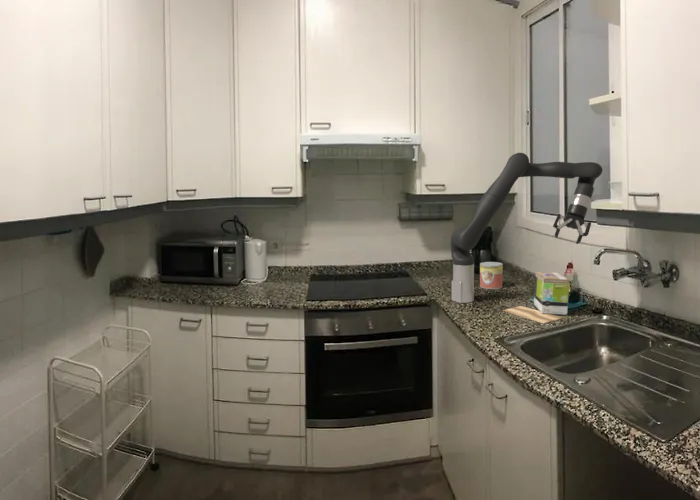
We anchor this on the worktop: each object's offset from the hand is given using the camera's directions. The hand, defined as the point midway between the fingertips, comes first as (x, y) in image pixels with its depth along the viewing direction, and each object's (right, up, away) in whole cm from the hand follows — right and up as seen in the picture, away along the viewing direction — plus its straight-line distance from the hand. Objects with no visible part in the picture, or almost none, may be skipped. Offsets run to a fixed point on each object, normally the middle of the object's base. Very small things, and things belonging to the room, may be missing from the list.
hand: (566, 240), depth 189 cm
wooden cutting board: (-21, -30, -14) cm, 40 cm away
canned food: (-22, -23, +35) cm, 47 cm away
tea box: (-12, -29, -9) cm, 33 cm away
